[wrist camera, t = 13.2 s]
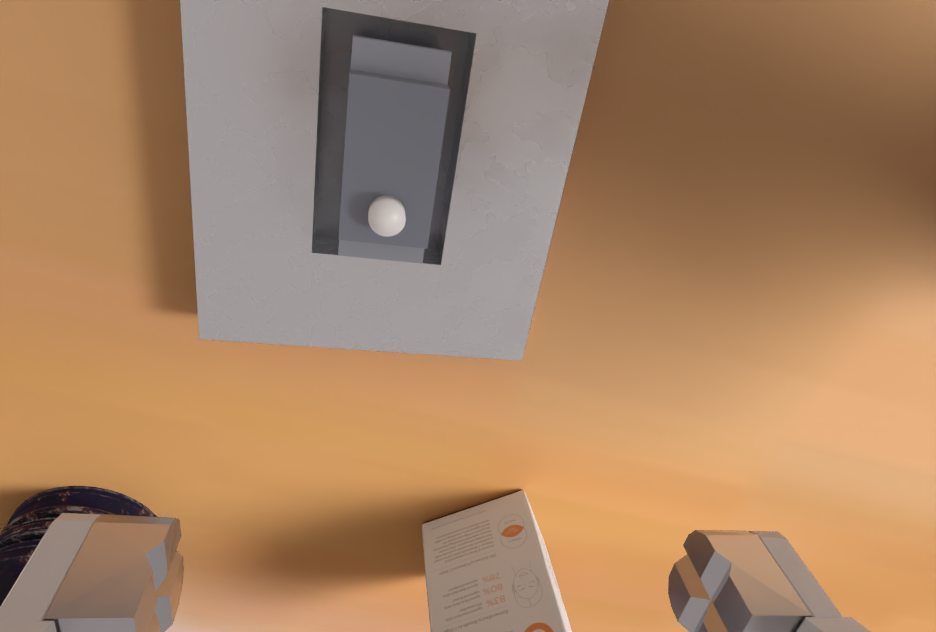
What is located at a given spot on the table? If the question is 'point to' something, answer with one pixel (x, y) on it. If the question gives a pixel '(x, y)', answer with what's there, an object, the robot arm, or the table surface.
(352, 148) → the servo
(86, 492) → the dark ribbed barrel
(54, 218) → the table surface
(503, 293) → the chassis
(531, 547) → the small box
